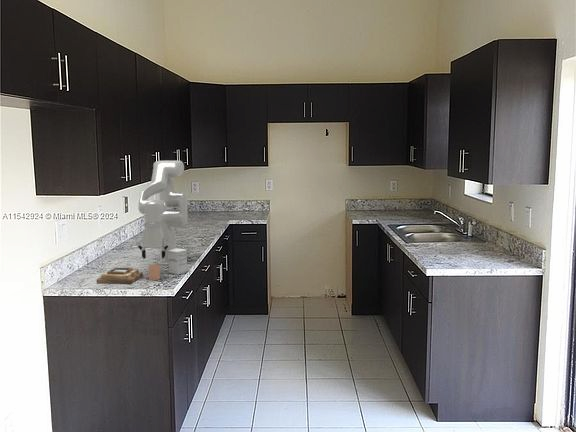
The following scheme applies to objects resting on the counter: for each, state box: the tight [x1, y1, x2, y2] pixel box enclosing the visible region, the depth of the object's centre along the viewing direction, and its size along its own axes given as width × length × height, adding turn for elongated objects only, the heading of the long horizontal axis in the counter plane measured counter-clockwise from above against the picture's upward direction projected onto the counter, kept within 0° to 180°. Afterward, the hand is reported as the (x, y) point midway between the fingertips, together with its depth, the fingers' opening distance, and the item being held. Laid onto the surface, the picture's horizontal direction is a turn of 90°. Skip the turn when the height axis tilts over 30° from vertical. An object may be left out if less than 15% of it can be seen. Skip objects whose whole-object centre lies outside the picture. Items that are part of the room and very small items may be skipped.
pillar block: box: [147, 263, 162, 281], centre depth 275 cm, size 5×5×7 cm
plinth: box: [96, 267, 144, 285], centre depth 274 cm, size 16×18×5 cm
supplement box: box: [168, 247, 188, 275], centre depth 288 cm, size 7×7×13 cm
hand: (153, 258), depth 274 cm, fingers open, 9 cm apart
